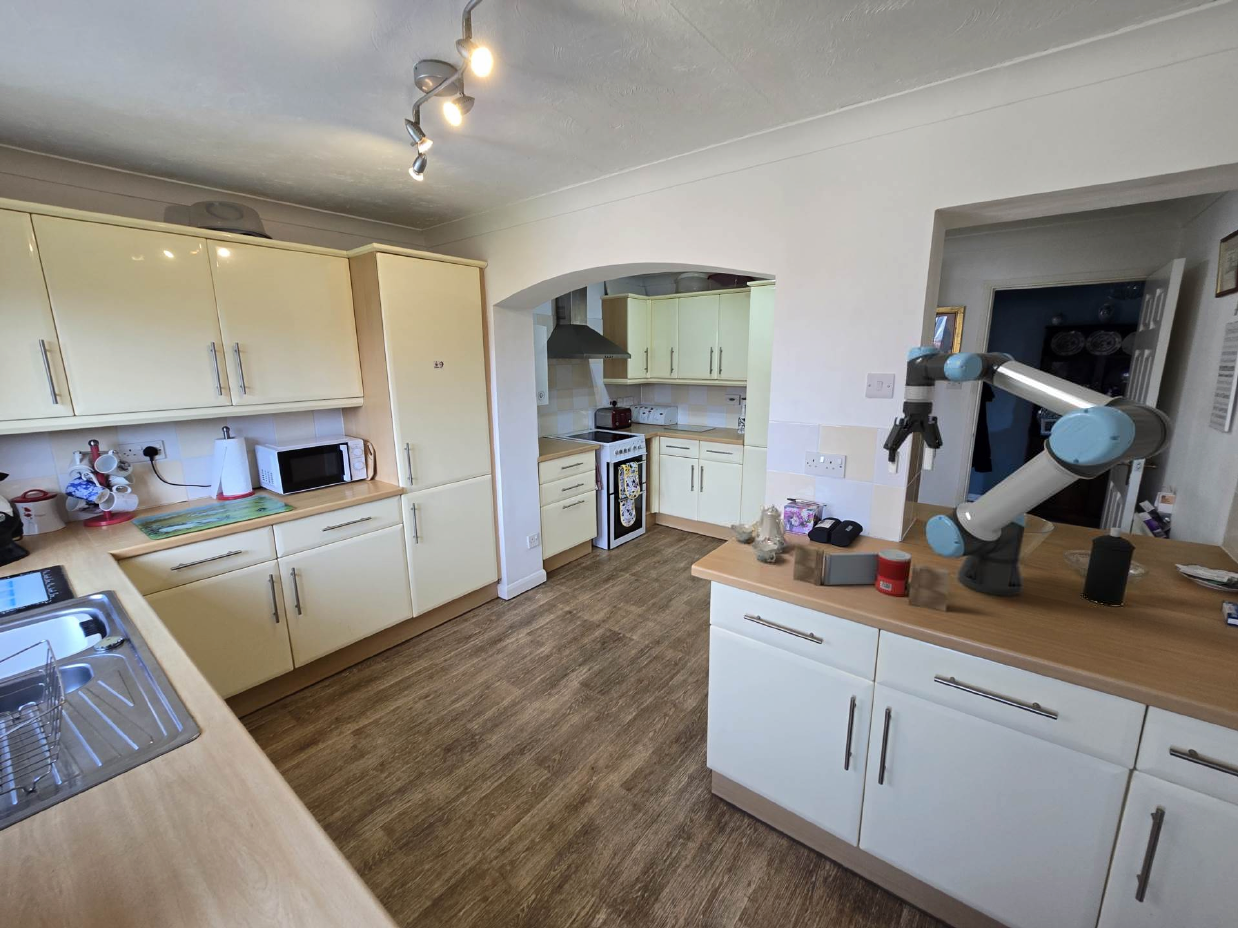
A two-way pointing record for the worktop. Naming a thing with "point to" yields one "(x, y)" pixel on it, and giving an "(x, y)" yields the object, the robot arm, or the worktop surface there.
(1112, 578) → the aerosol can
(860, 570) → the door leaf
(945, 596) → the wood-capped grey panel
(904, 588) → the canned food
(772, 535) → the chinaware
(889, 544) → the worktop surface
